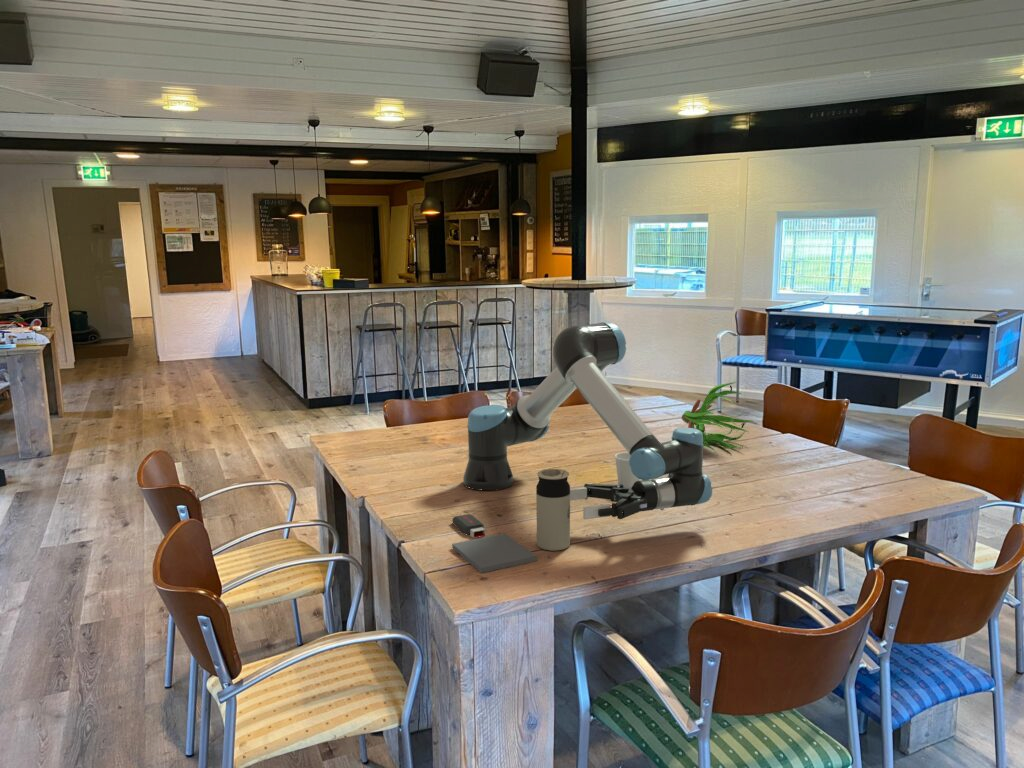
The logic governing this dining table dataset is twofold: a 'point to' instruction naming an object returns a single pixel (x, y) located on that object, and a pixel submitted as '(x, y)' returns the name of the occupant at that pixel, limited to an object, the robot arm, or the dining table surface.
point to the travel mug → (553, 510)
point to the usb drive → (469, 525)
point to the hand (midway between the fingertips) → (572, 504)
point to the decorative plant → (713, 418)
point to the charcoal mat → (494, 552)
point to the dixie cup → (624, 470)
